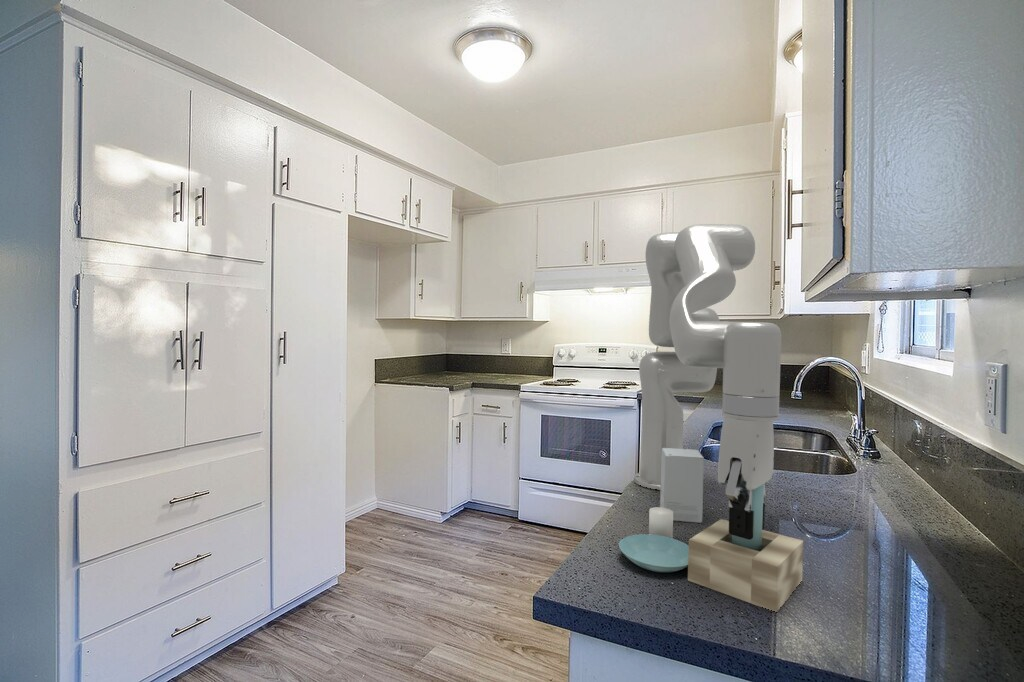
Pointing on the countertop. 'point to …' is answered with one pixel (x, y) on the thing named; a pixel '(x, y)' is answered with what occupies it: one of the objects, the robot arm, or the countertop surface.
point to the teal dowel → (758, 519)
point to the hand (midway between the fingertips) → (746, 530)
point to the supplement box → (682, 483)
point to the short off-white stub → (661, 522)
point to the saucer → (655, 552)
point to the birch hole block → (746, 566)
